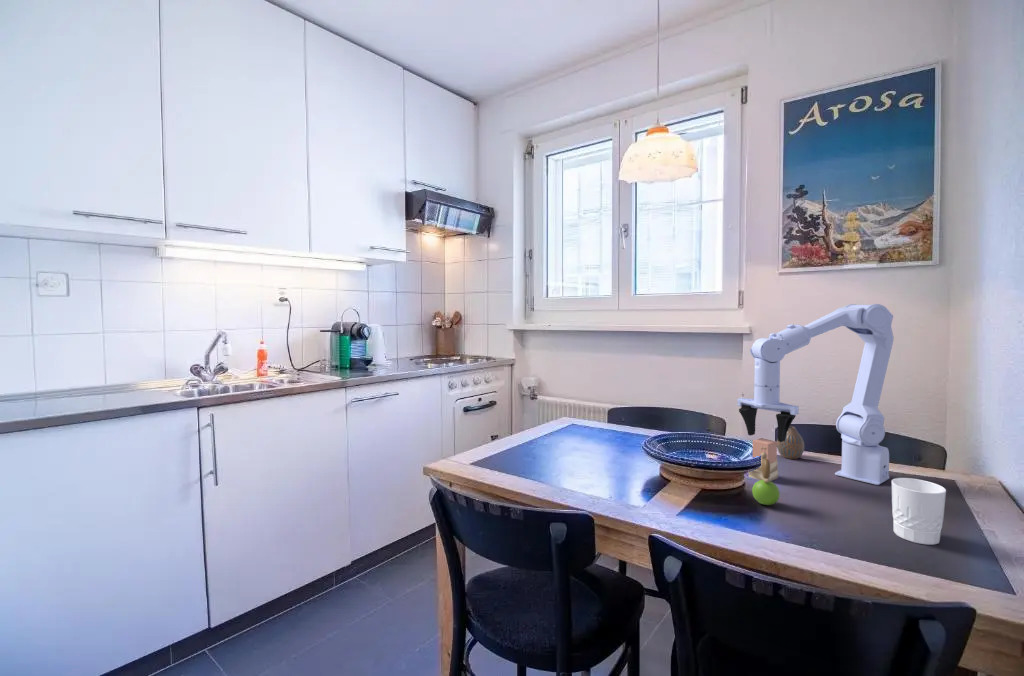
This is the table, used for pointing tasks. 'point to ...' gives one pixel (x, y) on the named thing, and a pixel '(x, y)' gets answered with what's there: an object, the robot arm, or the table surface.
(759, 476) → the tower base
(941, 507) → the white cup
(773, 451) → the block
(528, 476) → the table surface
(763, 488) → the snail figurine
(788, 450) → the vase
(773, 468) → the tower top
